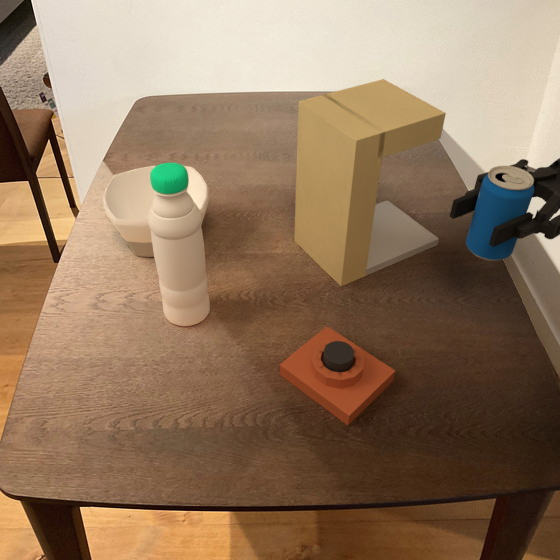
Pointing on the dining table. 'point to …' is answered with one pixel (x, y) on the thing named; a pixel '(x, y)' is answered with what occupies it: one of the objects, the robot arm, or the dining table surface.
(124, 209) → the bowl
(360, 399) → the brew pad
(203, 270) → the water bottle
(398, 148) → the coffee maker
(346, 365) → the button
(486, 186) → the beverage can
